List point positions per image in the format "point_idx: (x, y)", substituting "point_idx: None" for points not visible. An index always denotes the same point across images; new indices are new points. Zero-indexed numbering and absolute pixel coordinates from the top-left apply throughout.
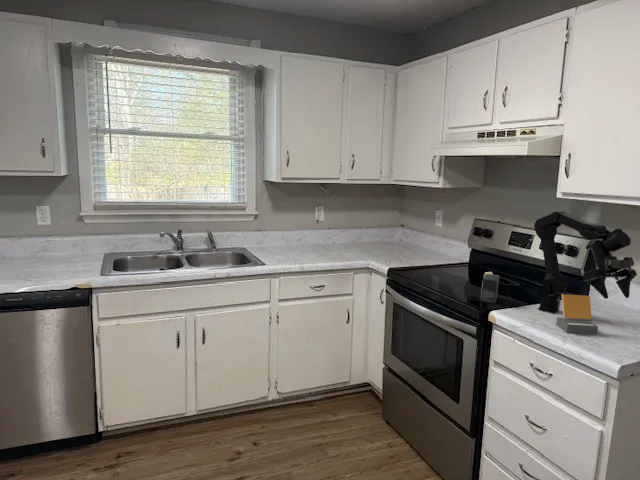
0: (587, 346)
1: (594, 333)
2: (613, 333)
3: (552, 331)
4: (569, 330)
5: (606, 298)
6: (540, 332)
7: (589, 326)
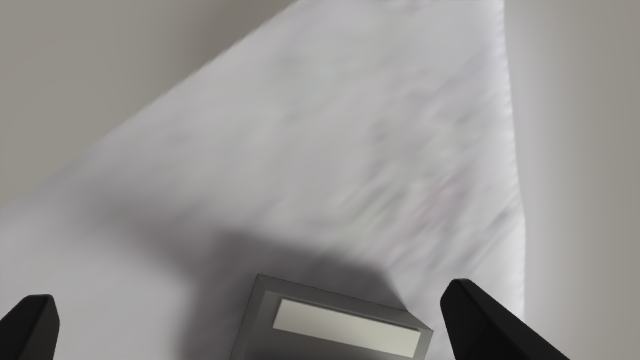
0: (453, 140)
1: (273, 278)
2: (122, 276)
3: None
4: (404, 314)
5: (455, 288)
6: None
7: (317, 302)
